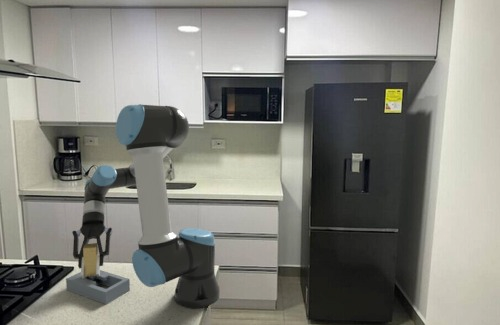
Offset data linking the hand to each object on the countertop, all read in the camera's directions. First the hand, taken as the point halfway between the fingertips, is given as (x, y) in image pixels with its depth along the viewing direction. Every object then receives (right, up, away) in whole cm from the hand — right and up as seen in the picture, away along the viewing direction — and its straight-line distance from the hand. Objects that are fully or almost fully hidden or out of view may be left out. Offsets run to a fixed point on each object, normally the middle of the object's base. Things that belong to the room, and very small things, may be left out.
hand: (90, 275), depth 113 cm
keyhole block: (+1, -6, +3) cm, 7 cm away
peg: (-1, -5, +4) cm, 7 cm away
